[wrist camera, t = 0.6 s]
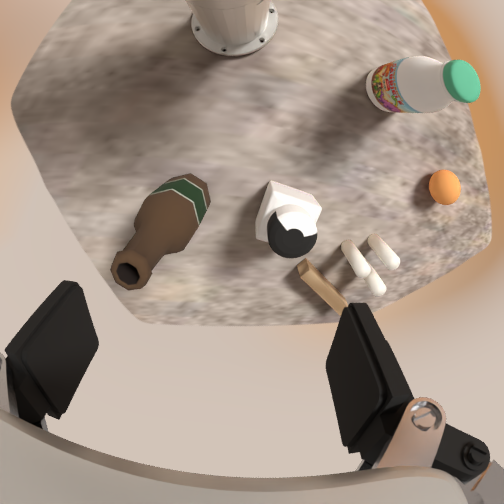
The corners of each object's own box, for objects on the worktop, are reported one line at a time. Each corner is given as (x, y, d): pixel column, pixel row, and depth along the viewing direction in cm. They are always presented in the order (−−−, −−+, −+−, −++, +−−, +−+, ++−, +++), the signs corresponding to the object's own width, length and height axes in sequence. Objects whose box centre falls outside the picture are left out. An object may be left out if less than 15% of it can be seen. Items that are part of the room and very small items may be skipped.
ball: (429, 161, 39) (449, 168, 34) (451, 174, 40) (471, 182, 35) (418, 192, 42) (436, 202, 37) (440, 203, 43) (459, 214, 37)
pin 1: (343, 238, 46) (359, 262, 38) (355, 241, 46) (373, 265, 39) (338, 250, 47) (353, 276, 39) (350, 253, 47) (366, 279, 40)
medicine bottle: (296, 234, 46) (309, 271, 35) (254, 221, 45) (255, 255, 34) (312, 194, 43) (332, 220, 32) (269, 179, 42) (275, 201, 31)
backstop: (305, 257, 48) (309, 269, 44) (344, 297, 51) (350, 310, 48) (296, 265, 48) (300, 277, 45) (336, 303, 52) (341, 316, 48)
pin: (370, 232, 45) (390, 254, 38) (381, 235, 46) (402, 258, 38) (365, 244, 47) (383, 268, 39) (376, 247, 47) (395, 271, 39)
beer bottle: (221, 202, 44) (190, 289, 22) (183, 228, 46) (129, 324, 24) (192, 162, 41) (128, 211, 19) (154, 190, 43) (73, 261, 21)
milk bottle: (395, 62, 32) (475, 43, 15) (412, 105, 36) (497, 111, 18) (356, 72, 34) (427, 48, 16) (375, 117, 37) (454, 125, 19)
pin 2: (359, 257, 48) (376, 282, 40) (370, 260, 48) (388, 285, 40) (354, 268, 49) (369, 295, 41) (365, 271, 49) (381, 297, 41)
